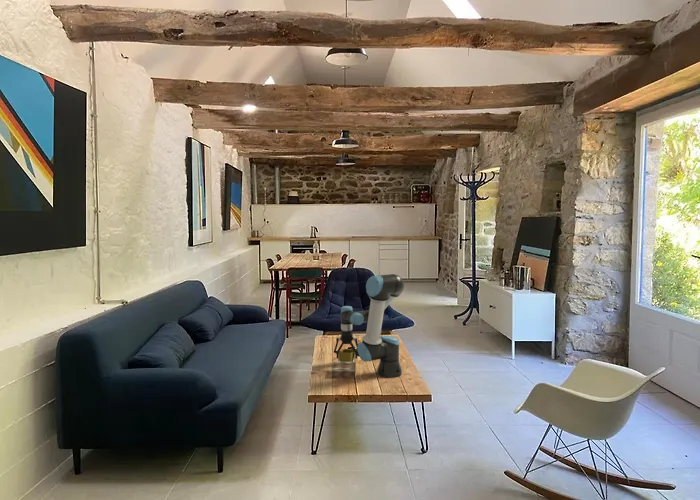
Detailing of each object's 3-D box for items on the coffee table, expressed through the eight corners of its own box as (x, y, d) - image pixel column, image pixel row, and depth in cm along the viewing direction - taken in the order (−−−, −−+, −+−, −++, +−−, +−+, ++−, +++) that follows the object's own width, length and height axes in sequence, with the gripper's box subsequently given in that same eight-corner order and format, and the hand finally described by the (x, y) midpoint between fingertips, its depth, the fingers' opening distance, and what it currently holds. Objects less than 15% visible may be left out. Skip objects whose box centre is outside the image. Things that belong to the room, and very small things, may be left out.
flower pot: (343, 361, 326) (342, 348, 325) (355, 363, 323) (355, 349, 323) (338, 365, 318) (338, 352, 317) (351, 367, 315) (350, 353, 314)
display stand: (355, 370, 308) (355, 361, 308) (355, 377, 294) (355, 368, 294) (333, 370, 309) (333, 361, 308) (332, 377, 295) (332, 368, 294)
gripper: (363, 328, 322) (364, 361, 324) (330, 328, 323) (330, 361, 325) (363, 331, 315) (364, 365, 316) (329, 331, 315) (329, 365, 317)
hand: (347, 363), depth 320 cm, fingers closed on flower pot, 10 cm apart
